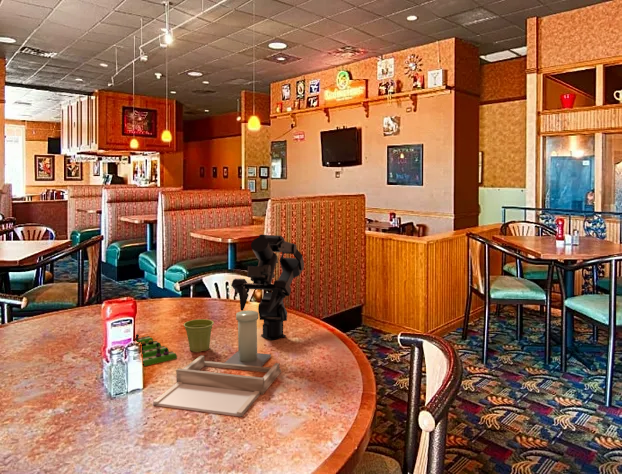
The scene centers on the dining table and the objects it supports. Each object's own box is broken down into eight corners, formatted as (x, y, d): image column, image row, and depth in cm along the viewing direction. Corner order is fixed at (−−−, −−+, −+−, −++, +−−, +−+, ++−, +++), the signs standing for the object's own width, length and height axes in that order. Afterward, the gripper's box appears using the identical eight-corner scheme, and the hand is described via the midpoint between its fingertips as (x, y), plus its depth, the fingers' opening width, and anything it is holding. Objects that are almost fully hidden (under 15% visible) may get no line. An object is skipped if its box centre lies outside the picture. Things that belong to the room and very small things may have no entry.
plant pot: (207, 355, 155) (206, 328, 154) (179, 353, 157) (178, 326, 156) (218, 345, 165) (218, 320, 164) (192, 343, 166) (191, 318, 165)
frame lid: (178, 385, 133) (178, 381, 133) (259, 395, 127) (259, 391, 127) (153, 405, 121) (153, 401, 121) (241, 416, 116) (241, 412, 116)
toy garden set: (177, 360, 153) (177, 345, 152) (114, 375, 141) (113, 359, 140) (148, 340, 171) (148, 327, 170) (90, 353, 158) (89, 339, 158)
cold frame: (202, 363, 148) (202, 350, 148) (280, 372, 142) (280, 358, 142) (176, 384, 134) (176, 370, 133) (262, 394, 128) (262, 379, 127)
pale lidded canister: (250, 353, 155) (250, 309, 153) (263, 359, 150) (262, 314, 148) (232, 358, 151) (231, 313, 149) (244, 364, 146) (244, 318, 144)
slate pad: (237, 353, 157) (237, 351, 157) (270, 356, 154) (270, 354, 154) (223, 366, 146) (223, 363, 146) (258, 370, 144) (258, 367, 144)
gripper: (231, 254, 161) (218, 297, 153) (285, 255, 155) (274, 300, 147) (243, 271, 170) (231, 313, 162) (295, 273, 164) (285, 317, 156)
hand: (254, 311), depth 156 cm, fingers open, 9 cm apart
